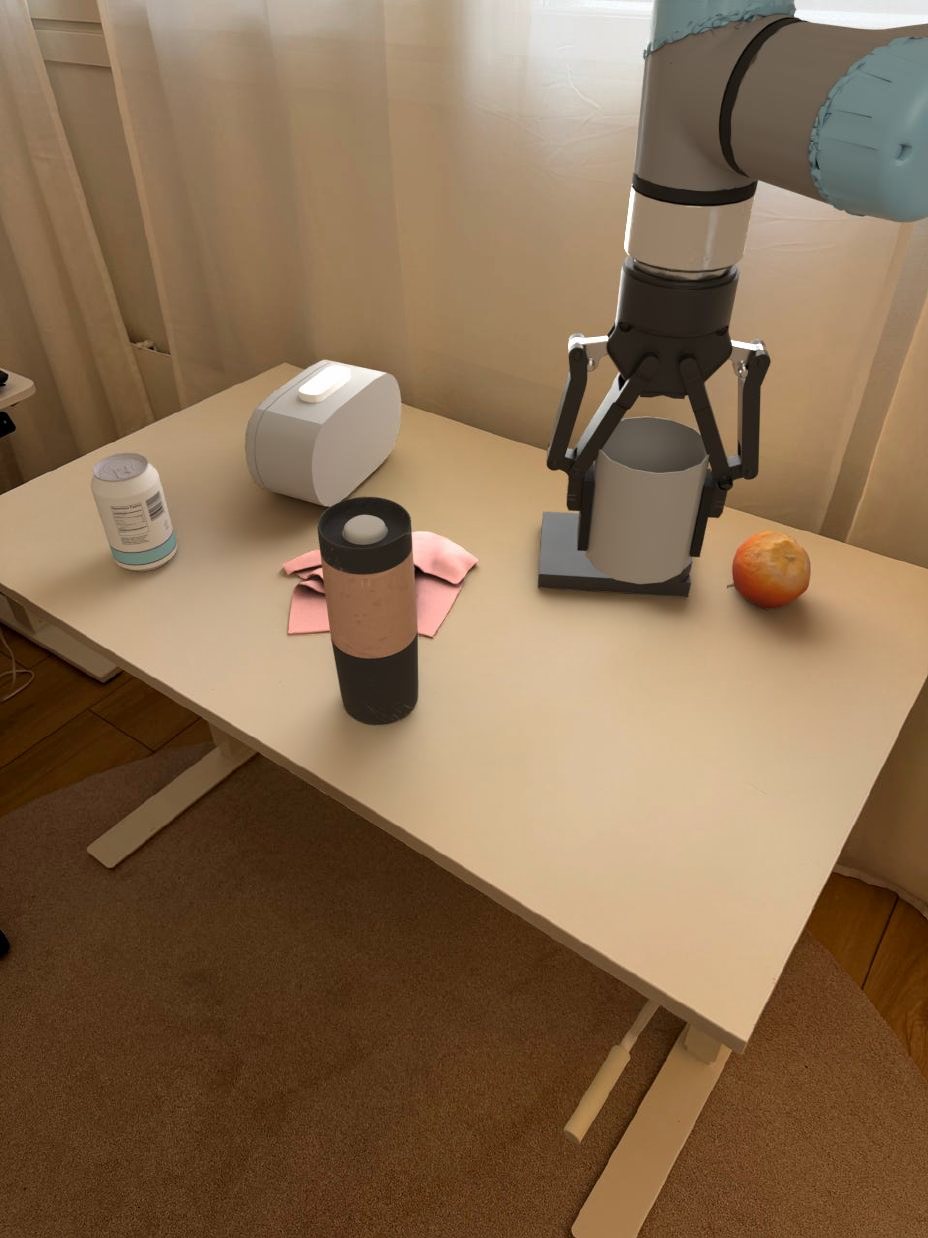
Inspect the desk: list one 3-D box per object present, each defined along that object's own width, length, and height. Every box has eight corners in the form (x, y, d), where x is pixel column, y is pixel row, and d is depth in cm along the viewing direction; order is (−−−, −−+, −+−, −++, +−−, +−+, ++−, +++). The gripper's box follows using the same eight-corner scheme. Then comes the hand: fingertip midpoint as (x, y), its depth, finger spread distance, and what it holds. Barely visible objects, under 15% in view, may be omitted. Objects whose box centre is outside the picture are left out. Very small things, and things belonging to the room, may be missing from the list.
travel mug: (323, 696, 84) (296, 519, 71) (387, 658, 88) (372, 484, 75) (373, 741, 80) (354, 562, 67) (437, 699, 84) (432, 523, 71)
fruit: (744, 545, 99) (790, 509, 93) (787, 603, 98) (837, 571, 91) (697, 573, 96) (742, 539, 89) (742, 634, 94) (790, 604, 87)
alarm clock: (343, 433, 122) (333, 338, 113) (403, 448, 119) (398, 352, 110) (253, 508, 108) (233, 407, 99) (319, 528, 105) (305, 425, 96)
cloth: (500, 555, 101) (500, 538, 99) (400, 676, 86) (399, 658, 84) (348, 509, 108) (346, 492, 106) (233, 613, 93) (228, 595, 92)
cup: (567, 534, 75) (577, 427, 68) (653, 514, 77) (671, 408, 70) (616, 594, 69) (632, 483, 62) (708, 570, 71) (732, 460, 64)
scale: (679, 532, 104) (684, 507, 102) (689, 600, 95) (694, 574, 92) (542, 524, 105) (543, 499, 103) (537, 591, 96) (539, 565, 94)
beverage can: (165, 533, 104) (140, 442, 97) (189, 562, 100) (165, 469, 92) (107, 554, 101) (76, 462, 93) (129, 585, 97) (99, 491, 89)
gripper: (836, 243, 60) (762, 524, 74) (520, 234, 61) (510, 511, 76) (863, 285, 54) (777, 580, 69) (515, 274, 55) (504, 564, 70)
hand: (637, 543), depth 72 cm, fingers closed on cup, 8 cm apart
